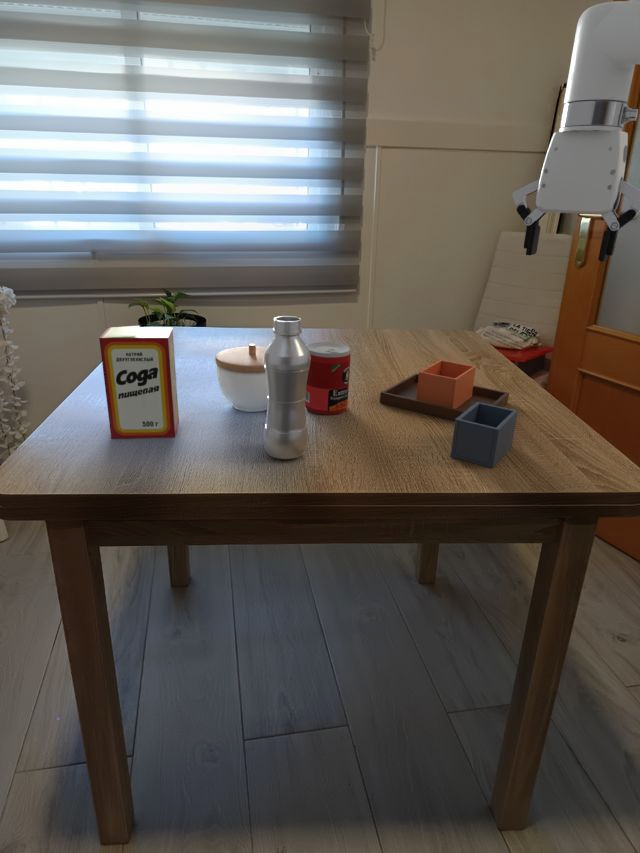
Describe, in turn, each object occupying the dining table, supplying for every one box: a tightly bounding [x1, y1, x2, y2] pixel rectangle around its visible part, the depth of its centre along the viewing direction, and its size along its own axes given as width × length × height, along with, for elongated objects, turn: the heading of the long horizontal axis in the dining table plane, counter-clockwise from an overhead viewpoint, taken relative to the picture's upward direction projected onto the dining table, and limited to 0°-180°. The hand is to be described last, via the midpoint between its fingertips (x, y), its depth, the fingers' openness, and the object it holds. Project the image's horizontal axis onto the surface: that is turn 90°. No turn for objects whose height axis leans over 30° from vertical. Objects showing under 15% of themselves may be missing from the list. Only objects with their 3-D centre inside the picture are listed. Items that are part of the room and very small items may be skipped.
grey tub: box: [450, 402, 519, 469], centre depth 86 cm, size 6×9×6 cm
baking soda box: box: [98, 325, 180, 440], centre depth 88 cm, size 10×6×16 cm
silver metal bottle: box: [262, 315, 311, 460], centre depth 80 cm, size 6×7×20 cm
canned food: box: [305, 341, 352, 416], centre depth 100 cm, size 8×8×11 cm
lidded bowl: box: [214, 343, 268, 413], centre depth 100 cm, size 13×13×11 cm
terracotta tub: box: [416, 359, 477, 409], centre depth 106 cm, size 7×10×6 cm
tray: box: [379, 372, 510, 422], centre depth 106 cm, size 19×15×2 cm
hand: (565, 257), depth 81 cm, fingers open, 9 cm apart
